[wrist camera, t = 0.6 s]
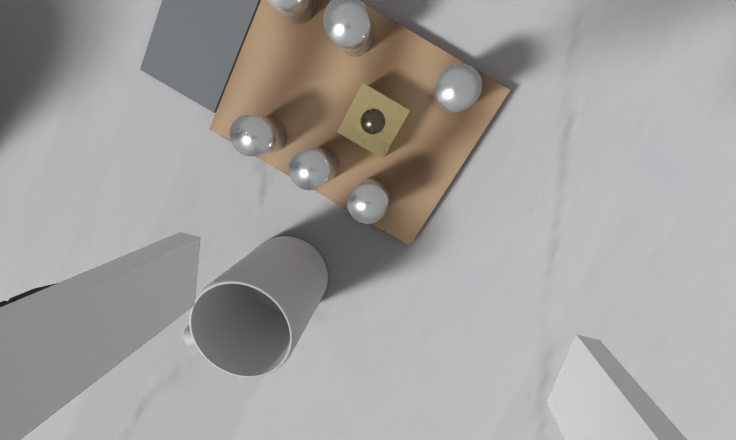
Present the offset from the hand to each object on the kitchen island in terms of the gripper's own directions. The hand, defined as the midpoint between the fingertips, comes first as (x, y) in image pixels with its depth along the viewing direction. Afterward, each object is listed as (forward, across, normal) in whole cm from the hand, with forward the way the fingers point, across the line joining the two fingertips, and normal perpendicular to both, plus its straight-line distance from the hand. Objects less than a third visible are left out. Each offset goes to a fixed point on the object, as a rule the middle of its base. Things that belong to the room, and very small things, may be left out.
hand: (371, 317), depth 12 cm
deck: (+22, -6, +7) cm, 24 cm away
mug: (+22, -11, -12) cm, 27 cm away
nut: (+21, -4, +6) cm, 22 cm away
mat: (+22, -21, +12) cm, 32 cm away
